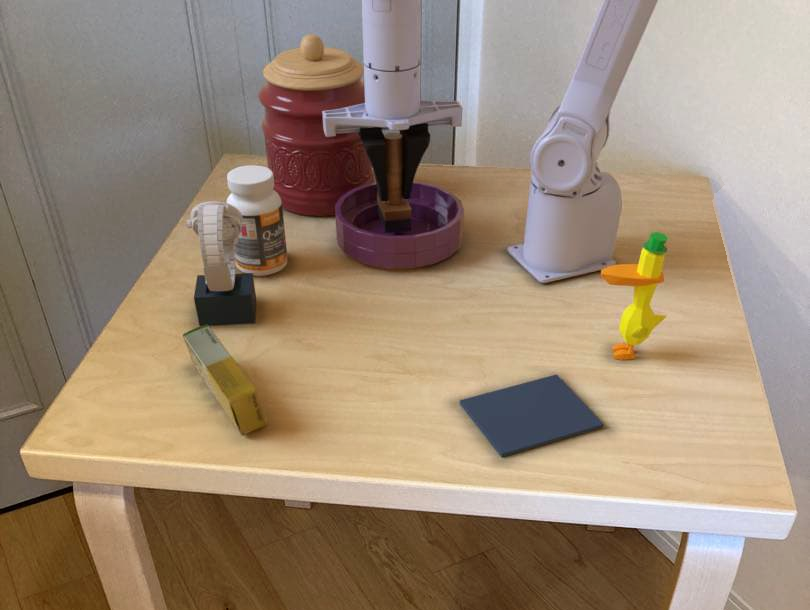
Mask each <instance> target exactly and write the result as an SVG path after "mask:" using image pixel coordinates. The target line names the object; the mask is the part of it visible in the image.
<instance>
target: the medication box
mask: <svg viewBox="0 0 810 610" xmlns="http://www.w3.org/2000/svg"><path fill="white" fill-rule="evenodd" d="M182 338H183V339H184V342H185V345H186V347H187V351H188V354H189V355H190V358H191V361H192V363H193V366H194V368H195V369H196V370H197V372H198V373H199V375H200V376H201V378H202V380H203V381H204V382H205V384H206V385H207V387H208V388H209V390H210V392H211V393H212V394H213V396H214V397H215V399H216V400H217V402H218V403H219V404H220V406H221V407H222V409H223V411H224V412H225V414H226V415H227V416H228V418H229V419H230V421H231V422H232V424H233V425H234V426H235V428H236V430H237V431H238V432H239V434H240V435H241V436H244V435H246V434H249V433H251V432H253V431H255V430H256V431H257V429H260V428H262V427H264V426H266V425H267V424H268V422H267V418H266V415H265V412H264V409H263V406H262V402H261V398H260V396H259V393H258V391H257V390H258V389H257V388H256V387H255V386H254V384H253V383H252V382H251V380H250V379H249V378H248V377H247V375H246V374H245V372H244V371H243V370H242V368H241V366H240V365H239V364H238V363H237V362H236V360H235V359H234V357H233V356H232V355H231V354H230V352H229V351H228V350H227V348H226V347H225V346H224V344H223V343H222V342H221V340H220V339H219V338H218V336H217V335H216V334H215V332H214V331H213V330H212V328H211V327H210V325H207V324H206V325H203V326H197V327H195V328H193V329H190V330H187V331H186V332H184V333H182Z"/></svg>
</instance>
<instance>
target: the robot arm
mask: <svg viewBox="0 0 810 610" xmlns="http://www.w3.org/2000/svg"><path fill="white" fill-rule="evenodd" d="M658 2H659V0H602V2H601V4H600V7H599V10H598V12H597V15H596V17H595V20H594V22H593V25H592V28H591V30H590V33H589V35H588V37H587V40H586V42H585V44H584V48H583V51H582V53H581V55H580V57H579V60H578V63H577V65H576V68H575V71H574V73H573V75H572V79H571V81H570V83H569V85H568V88H567V90H566V92H565V94H564V96H563V99H562V101H561V103H560V104H559V105H557V107H556V108H555V109H554V110H553V112H552V114H551V116H550V118H549V121H548V124H547V126H546V127H545V128H544V131H543V132H542V134H541V135H540V136H539V137H538V138H537V139H536V141H535V142H534V144H533V147H532V150H531V152H530V159H529V160H530V161H529V163H530V170H531V173H530V174H531V175H530V182H529V192H528V202H527V209H526V210H527V211H526V217H525V218H526V219H525V226H524V227H525V228H524V229H525V230H524V238H523V243H520V244H515V245H511V246H508V247H507V251H506V252H507V253H508V254H509V255H510V256H511V257H512V258H513V259H515V261H517V262H518V264H520V265H521V266H522V267H523V268H524V269H525V270H526V272H528V273H529V274H530V275H531V276H532V277H534V279H536V280H537V281H538V282H539V283H541V284H547V283H552V282H557V281H560V280H563V279H568V278H572V277H577V276H582V275H586V274H590V273H595V272H598V271H601V270H602V269H604V268H606V267H608V266H612V265H617V262H616V261H615V260H614V259H613V256H614V252H615V251H614V250H615V245H616V241H617V235H618V230H619V225H620V220H621V214H622V208H623V200H622V192H621V187H620V185H619V183H618V181H617V179H616V178H615V177H614V176H613V175H612V174H611V173H610V172H606V171H601V169H600V167H599V164H598V163H599V162H598V159H599V157H600V155H601V152H602V150H603V149H604V148H605V146H606V144H607V142H608V139H609V136H610V129H611V125H610V116H611V115H610V114H611V110H612V108H613V105H614V102H615V100H616V98H617V96H618V93H619V91H620V88H621V86H622V84H623V81H624V79H625V77H626V75H627V72H628V70H629V69H630V66H631V63H632V61H633V60H634V57H635V55H636V53H637V50H638V47H639V45H640V43H641V40H642V38H643V36H644V34H645V31H646V29H647V27H648V24H649V22H650V20H651V18H652V15H653V14H654V11H655V8H656V7H657V3H658ZM361 24H362V25H361V27H362V28H361V29H362V53H363V55H362V56H363V68H364V73H363V81H364V87H365V103H363V104H359V105H354V106H350V107H345V108H340V109H335V110H327V111H322V115H323V129H324V133H325V136H326V137H333V136H336V134H339V133H352V132H358V134H359V136H360V139H361V141H362V143H363V146H364V148H365V150H366V152H367V154H368V156H369V159H370V162H371V165H372V169H373V172H374V180H375V182H376V184H377V190H378V196H379V198H380V201H387V182H386V154H387V145H386V142H385V140H384V135H385V133H384V132H383V131H388V130H390V131H399V134H401V135H402V136H403V198H404V199H410V194H411V189H412V184H413V181H415V177H416V175H417V171H418V168H419V165H420V163H421V161H422V159H423V157H424V155H425V153H426V151H427V150H428V148H429V146H430V143H431V134H430V132H429V127H441V126H451V128H459V127H462V126H463V106H462V104H461V103H460V101H459V100H450V101H448V100H447V101H446V100H427V99H424V100H423V99H421V68H422V67H421V57H422V56H421V54H422V53H421V47H422V46H421V44H422V40H421V39H422V8H421V0H361Z"/></svg>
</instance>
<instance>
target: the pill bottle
mask: <svg viewBox="0 0 810 610" xmlns="http://www.w3.org/2000/svg"><path fill="white" fill-rule="evenodd" d="M226 179H227V187H228V189H229V191H230V192H231V193H230V194H229V196H228V197H227V199H226V203H228V204H230V205H232V206H234V207H235V208H237V209H238V210H239V211H240V212H241V214H242V219H243V221H242V230H241V232H240V235H239V239H238V244H237V245H234V251H235V267H236V268H237V269H238V270H239V271H240V272H241V273H253V277H254V276H256V277H258V276H259V277H262V276H269V275H273V274H276V273H278V272H280V271H282V270H283V269H285V267H286V265H287V264H288V249H287V240H286V239H287V237H286V231H285V220H284V219H285V218H284V208H282V202H281V198H280V196H279V195H278V193H277V192H276V191H274V190H273V188H274V177H273V172H272V171H271V170H270V169H269V168H268V167H266V166H263V165H257V164H256V165H255V164H254V165H252V164H250V165H249V164H248V165H241V166H238V167H235V168H233V169H231V170H229V172H228V173H227V175H226Z"/></svg>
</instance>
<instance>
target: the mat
mask: <svg viewBox="0 0 810 610" xmlns="http://www.w3.org/2000/svg"><path fill="white" fill-rule="evenodd" d="M459 405H460V406H461V407H462V409H463V410H464V411H465V412H466V414H467V415H468V416H469V417H470V419H471V420H472V421H473V423H474V424H475V425H476V426H477V428H478V429H479V430H480V432H481V433H482V434H483V435H484V437H485V438H486V440H487V441H488V442H489V443H490V444H491V446H492V447H493V448H494V449H495V451H496V452H497V453H498V455H499V456H500V457H501V458H504V457H507V456H511V455H514V454H518V453H521V452H524V451H528V450H531V449H534V448H535V449H536V448H539V447H541V446H545V445H548V444H553V443H555V442H559V441H562V440H566V439H569V438H572V437H575V436H576V437H577V436H580V435H582V434H586V433H589V432H592V431H595V430H599V429H603V428H604V426H605V424H604V422H603V421H602V420H601V419H600V418H599V417H598V416H597V415H596V414H595V413H594V412H593V410H591V409H590V408H589V406H588V405H587V404H586V403H585V402H584V401H583V400H582V399H581V398H580V397H579V396H578V395H577V394H576V392H574V391H573V389H571V387H569V386H568V384H567V383H566V382H565V381H564V380H563V379H562V378H561V377H560V376H559V375H558V374H557V373H555V374H553V375H549V376H545V377H542V378H538V379H534V380H530V381H526V382H523V383H518V384H515V385H512V386H511V385H510V386H508V387H504V388H501V389H497V390H493V391H489V392H485V393H482V394H478V395H473V396H470V397H467V398H463V399H460V400H459Z"/></svg>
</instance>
